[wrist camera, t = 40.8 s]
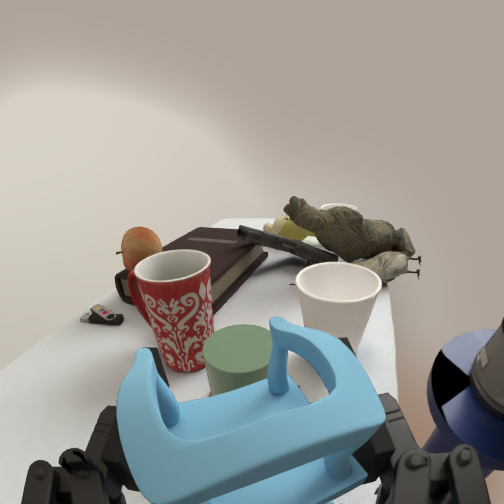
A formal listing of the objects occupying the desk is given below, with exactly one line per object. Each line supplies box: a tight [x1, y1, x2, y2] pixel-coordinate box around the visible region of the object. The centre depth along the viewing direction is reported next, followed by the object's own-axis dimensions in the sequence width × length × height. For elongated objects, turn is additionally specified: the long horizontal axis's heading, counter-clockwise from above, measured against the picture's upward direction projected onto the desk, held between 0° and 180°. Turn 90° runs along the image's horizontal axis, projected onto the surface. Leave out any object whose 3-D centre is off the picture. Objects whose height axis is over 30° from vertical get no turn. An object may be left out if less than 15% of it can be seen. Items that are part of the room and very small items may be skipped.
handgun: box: [236, 225, 338, 263], centre depth 59 cm, size 3×19×12 cm
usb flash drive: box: [80, 304, 124, 325], centre depth 47 cm, size 9×5×1 cm, turn 85°
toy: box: [263, 214, 316, 241], centre depth 75 cm, size 13×7×15 cm
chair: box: [117, 317, 386, 504], centre depth 9 cm, size 8×8×12 cm
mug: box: [127, 250, 214, 372], centre depth 36 cm, size 13×9×14 cm
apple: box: [116, 227, 162, 272], centre depth 48 cm, size 8×8×8 cm
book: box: [115, 227, 268, 315], centre depth 59 cm, size 28×20×6 cm
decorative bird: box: [351, 251, 421, 283], centre depth 53 cm, size 5×16×7 cm
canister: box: [202, 325, 272, 396], centre depth 25 cm, size 6×6×10 cm
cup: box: [295, 262, 382, 354], centre depth 34 cm, size 10×10×11 cm
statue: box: [284, 196, 415, 263], centre depth 57 cm, size 11×9×30 cm
